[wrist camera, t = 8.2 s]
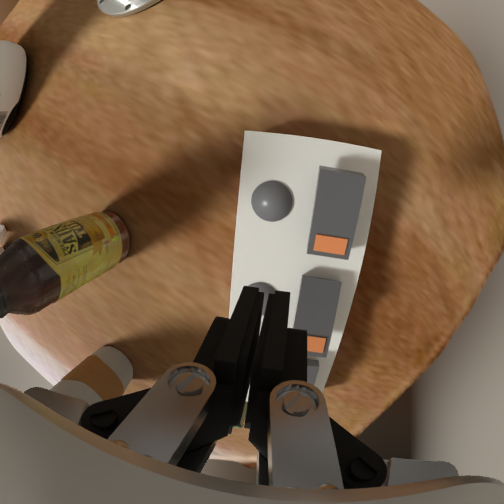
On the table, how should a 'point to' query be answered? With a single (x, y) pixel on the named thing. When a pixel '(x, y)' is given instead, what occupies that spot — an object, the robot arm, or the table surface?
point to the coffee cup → (98, 377)
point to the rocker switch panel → (295, 223)
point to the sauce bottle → (59, 261)
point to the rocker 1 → (312, 370)
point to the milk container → (11, 81)
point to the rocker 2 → (335, 212)
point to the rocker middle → (317, 312)
